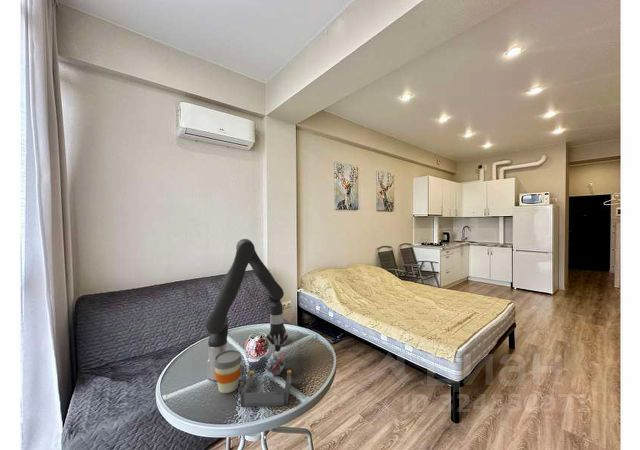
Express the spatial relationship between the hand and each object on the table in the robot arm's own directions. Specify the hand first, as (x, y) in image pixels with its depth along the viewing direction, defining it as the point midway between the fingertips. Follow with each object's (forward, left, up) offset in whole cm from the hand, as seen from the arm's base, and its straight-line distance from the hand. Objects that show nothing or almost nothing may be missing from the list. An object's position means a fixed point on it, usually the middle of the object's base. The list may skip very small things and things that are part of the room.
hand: (277, 351), depth 146 cm
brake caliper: (+1, -12, -6) cm, 13 cm away
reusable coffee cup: (-20, -23, -6) cm, 31 cm away
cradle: (0, -29, -5) cm, 29 cm away
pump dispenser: (-2, +19, -6) cm, 20 cm away
